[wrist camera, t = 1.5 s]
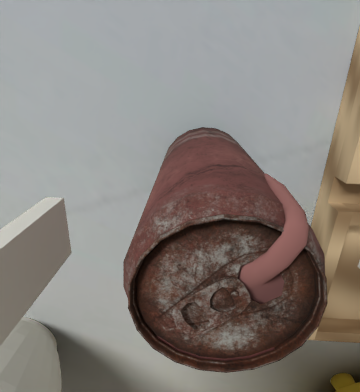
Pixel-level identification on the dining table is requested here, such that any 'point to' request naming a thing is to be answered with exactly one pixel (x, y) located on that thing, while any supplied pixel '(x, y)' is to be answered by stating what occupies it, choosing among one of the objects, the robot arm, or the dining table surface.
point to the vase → (30, 359)
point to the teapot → (345, 383)
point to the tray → (342, 217)
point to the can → (223, 261)
